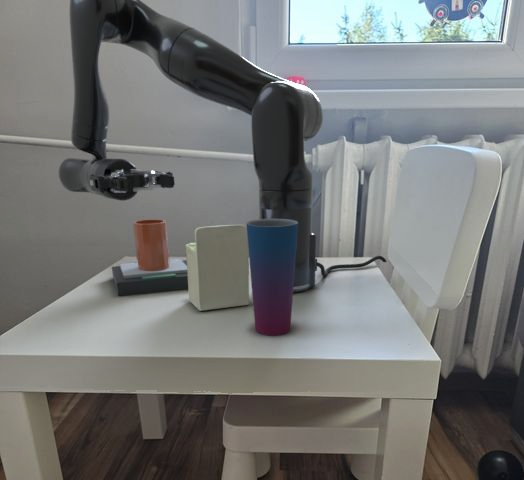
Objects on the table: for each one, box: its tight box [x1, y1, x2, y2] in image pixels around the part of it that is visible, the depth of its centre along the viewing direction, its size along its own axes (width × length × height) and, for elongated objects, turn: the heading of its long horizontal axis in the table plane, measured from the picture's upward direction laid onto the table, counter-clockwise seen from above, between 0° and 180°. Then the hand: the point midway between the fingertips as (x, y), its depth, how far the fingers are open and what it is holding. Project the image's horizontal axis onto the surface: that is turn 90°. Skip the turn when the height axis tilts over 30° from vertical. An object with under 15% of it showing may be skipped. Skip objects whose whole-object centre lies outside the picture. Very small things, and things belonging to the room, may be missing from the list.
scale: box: [111, 258, 188, 297], centre depth 95 cm, size 15×13×3 cm
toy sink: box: [185, 224, 250, 312], centre depth 81 cm, size 8×7×13 cm
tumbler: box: [132, 218, 171, 271], centre depth 93 cm, size 6×6×8 cm
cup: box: [245, 219, 298, 336], centre depth 68 cm, size 7×7×15 cm
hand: (149, 183), depth 85 cm, fingers open, 8 cm apart
